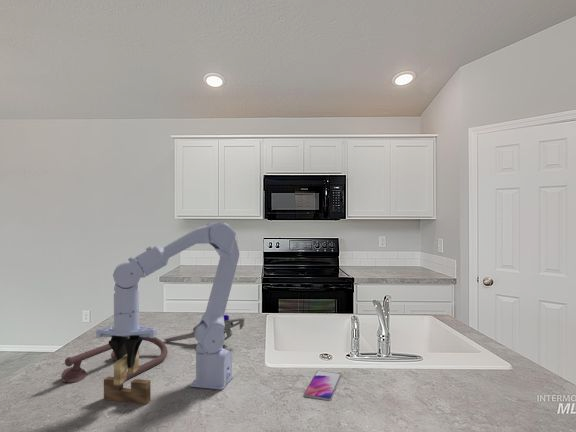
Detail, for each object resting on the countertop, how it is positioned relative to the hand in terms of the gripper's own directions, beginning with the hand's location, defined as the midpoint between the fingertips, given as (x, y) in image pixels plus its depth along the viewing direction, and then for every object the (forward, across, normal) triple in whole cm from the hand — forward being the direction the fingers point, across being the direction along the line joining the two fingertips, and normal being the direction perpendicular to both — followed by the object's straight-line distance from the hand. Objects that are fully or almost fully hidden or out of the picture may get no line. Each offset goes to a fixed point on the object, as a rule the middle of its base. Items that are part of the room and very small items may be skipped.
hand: (126, 366), depth 86 cm
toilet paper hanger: (+9, +12, -19) cm, 24 cm away
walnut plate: (+8, 0, 0) cm, 8 cm away
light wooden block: (+3, 0, 0) cm, 3 cm away
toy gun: (+9, -7, -40) cm, 42 cm away
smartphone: (+9, -49, -9) cm, 51 cm away
